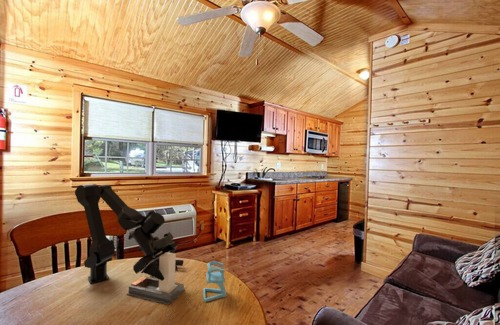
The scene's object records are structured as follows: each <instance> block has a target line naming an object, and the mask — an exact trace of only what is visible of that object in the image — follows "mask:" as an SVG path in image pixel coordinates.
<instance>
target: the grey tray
mask: <svg viewBox="0 0 500 325" xmlns="http://www.w3.org/2000/svg"><path fill="white" fill-rule="evenodd" d="M175 285H178V287H177V288H176V289H174V290H173V291H172V292H171V293H170V294H169V293H164V292H160V291H156V290H155V289H157V288H158V287H159V279H157V278H155V277H153V276H147V275H144V276H141V277H140V278H138V279H137V280H135V281H133V282H132V283H131V284H130V285H129V286H128V291H127V292H126V295H128V296H132V297H136V298H140V299H143V300H147V301H151V302H155V303H159V304H164V305H166V306H167V305H168V306H169V305H170V304H172V302H174V301H175V300H176V299H177V298H178V297H179V296H180V295H181V294H182V293H183V292H185V290H186V288H185V284H184V283H178V282H175Z"/></svg>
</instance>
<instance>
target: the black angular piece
mask: <svg viewBox="0 0 500 325" xmlns="http://www.w3.org/2000/svg"><path fill="white" fill-rule="evenodd" d="M155 260H156V263H157V267H158V268H159V258H157V259H155ZM175 261H176V264H177V267H180V266H181V267H184V260H183V259H175Z"/></svg>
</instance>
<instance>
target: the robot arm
mask: <svg viewBox="0 0 500 325" xmlns="http://www.w3.org/2000/svg"><path fill="white" fill-rule="evenodd" d="M74 194H75V197H76V198H75V199H76V200H77V202H78V203H79V204H80V205H81V206H82V207H83V209H84V212H85V218H86V221H87V225H88V229H89V233H90V234H89V235H90V238H91V244H90V247H89V256H88V257H87V258H86V259H85V260H84V261H83V264H84V268H88V269H89V271H90V272H89V276H87V279H88V281H89V284H90V285H92V284H96V283H100V282H103V281H107V280H109V279H110V276H109V275H108V274H107V273H108V272H107V270H108V268H107V267H108V265H107V264H108V263H109V262H111V261H112V260H113V257H114V255H115V253H116V247H115V243H114V242H115V241H114V240H113V239H109V238H108V237H107V235H106V231H105V226H104V223H103V219H102V213H101V210H100V205H99V202H100V200H101V199H102V200H103V202H104V203H105V204H106V205H107V206H108V207H109V208H110V210H112V211H113V213H114V214H115V215H116V217H117V223H118V224H119V225H120V227H121V228H122V229H123V231H130V230H132V231H130V232H129V235H128V240H129V241H130V240H132V239H134V240H135V242H136V243H137V245H138V246H139V248H138V251H139V253H141V252H143V254H144V255H143V257H140V258H139V260H138V261H136V263H135V264H134V265H133V267H132V268H133V271H134V273H135V274H136V275H137V274H139V273H141V274H145V275H148V276H150V277H152V278H157V279H159V280H161V281H163V280H164V277H163V275H162V273H161V271H160V270H159V267H157V263H156V260H155V259H157V258H159V256H161V255H163V254H164V253H166V252H168V253H174V254H176V253H175V252H176V250H177V247H178V244H177V242H175V241H173V240H174V236H173V234H172V233H171V231H168V232H167V233H164V234H163V237H161V238H159V237H158V236H155V237H154V235H153V234H155V233H156V232H157V231H158V230H159V229H160V228H161V227H162V226H163V224H165V217H164V216H163V215H162V214H160V213H159V212H156V211H155V210H150V211H149V212H148V213H147V214H146V215H143V214H142V213H141V212H139V211H138V210H137V209H135V208H132V207H130V206H129V205H128V204H126V202H124V200H123V199H122V198H121V197H120V196H119V195H118V194H117V193H116V191H114V189H113V188H112V185H109V184H101V185H100V184H99V185H98V184H96V183H92V184H91V183H90V184H80V185H78V186H77V187H76V189H75V190H74ZM178 268H179V267H178V266H177V264H176V261H175V272H177V271H178Z"/></svg>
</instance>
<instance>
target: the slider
mask: <svg viewBox="0 0 500 325" xmlns="http://www.w3.org/2000/svg"><path fill="white" fill-rule="evenodd" d="M176 255H177V254H176V253H168V252H166V253H164V254H163V255H161V256H159V267H158V268H159V270H160V271H161V273H162V275H163V277H164V280H163V281H161V280H159V287H158V288H157V289H155V290H156V291H160V292H164V293H169V294H170V293H171V292H172V291H173V290H174V289H176V288H177V287H178V285H175V283H176V271H175V260H176Z"/></svg>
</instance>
